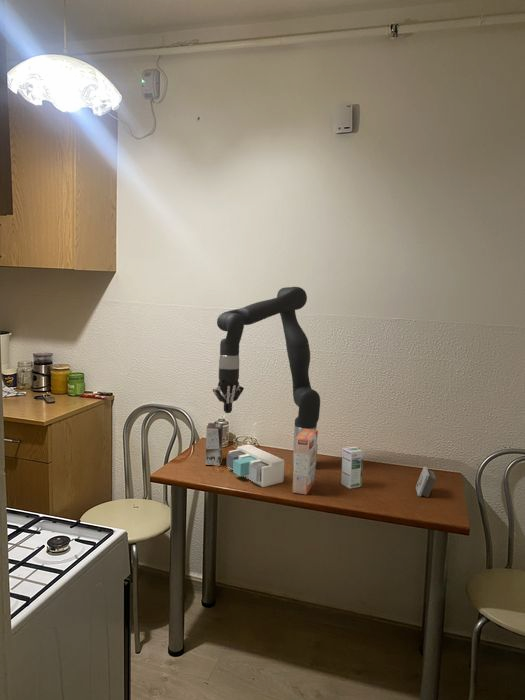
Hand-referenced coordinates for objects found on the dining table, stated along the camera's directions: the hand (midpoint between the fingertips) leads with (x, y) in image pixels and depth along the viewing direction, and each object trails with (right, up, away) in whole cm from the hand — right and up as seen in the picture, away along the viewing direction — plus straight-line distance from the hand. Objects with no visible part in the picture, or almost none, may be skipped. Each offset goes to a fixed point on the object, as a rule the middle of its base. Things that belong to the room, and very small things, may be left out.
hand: (227, 412), depth 193 cm
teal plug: (+7, -24, +9) cm, 27 cm away
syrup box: (+47, -29, +5) cm, 55 cm away
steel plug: (+13, -25, +4) cm, 29 cm away
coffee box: (-7, -24, +24) cm, 35 cm away
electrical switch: (+73, -30, 0) cm, 79 cm away
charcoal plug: (+4, -23, +16) cm, 29 cm away
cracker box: (+29, -28, +1) cm, 40 cm away
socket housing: (+10, -26, +12) cm, 30 cm away
